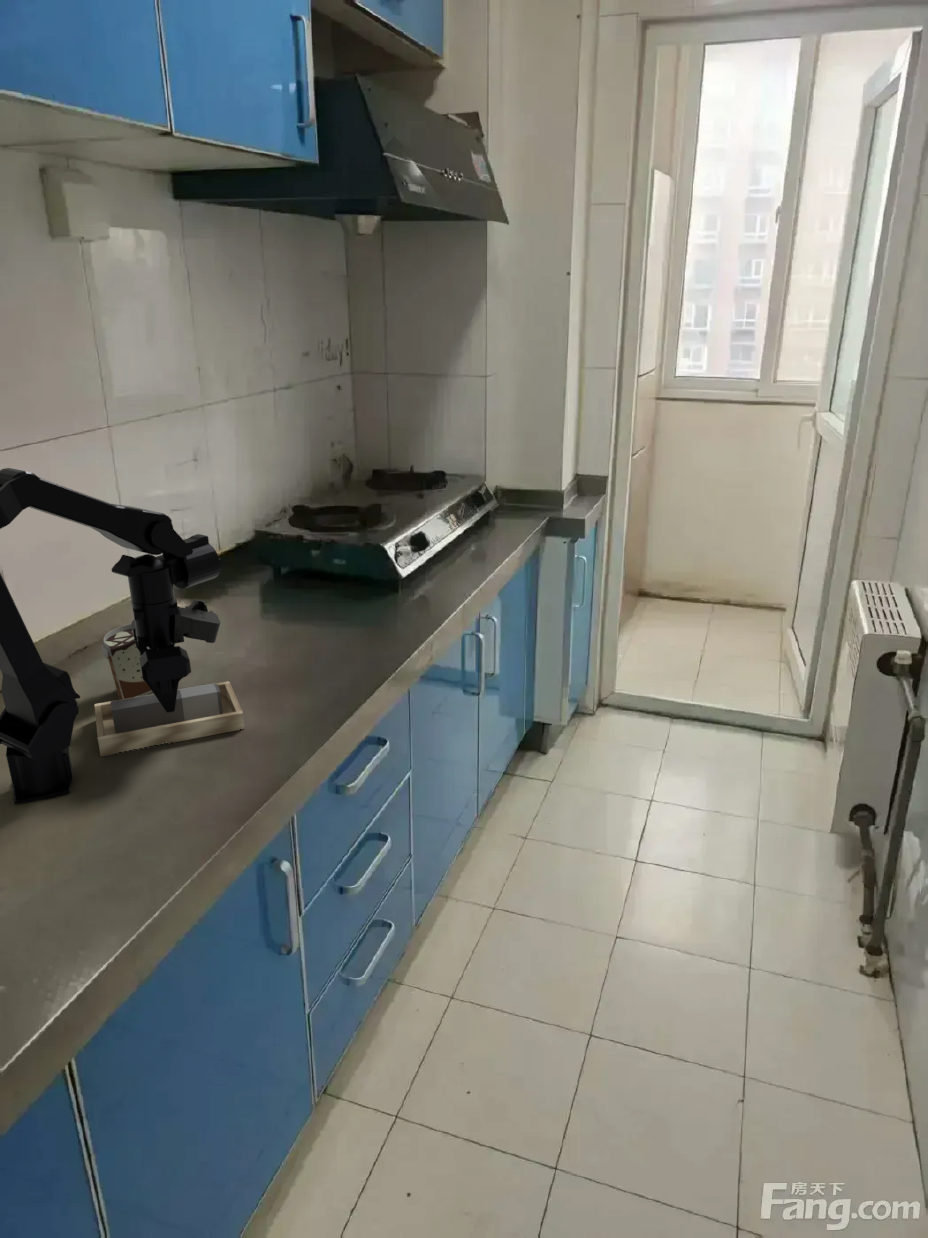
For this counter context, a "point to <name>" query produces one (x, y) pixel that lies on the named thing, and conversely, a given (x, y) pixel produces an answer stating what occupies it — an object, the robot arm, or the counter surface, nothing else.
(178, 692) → the tall gray brick
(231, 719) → the tray
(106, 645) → the food container
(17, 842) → the counter surface
